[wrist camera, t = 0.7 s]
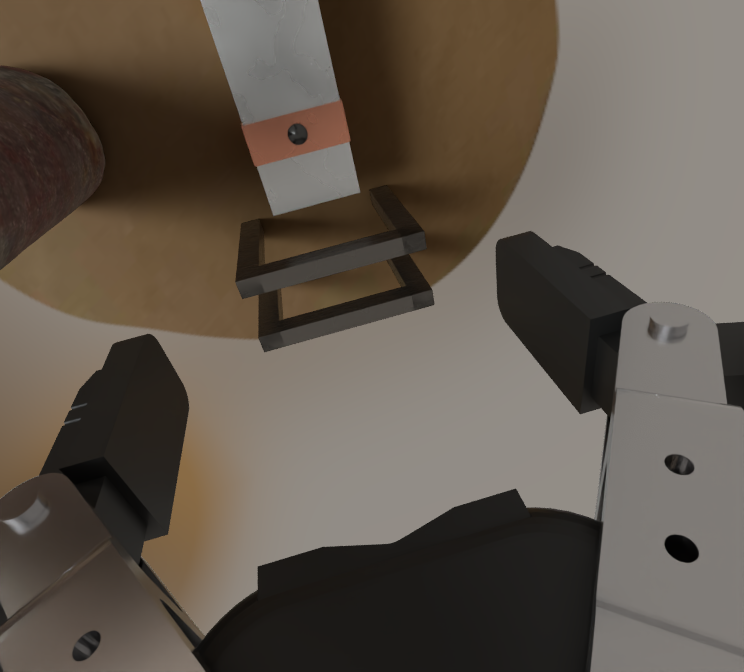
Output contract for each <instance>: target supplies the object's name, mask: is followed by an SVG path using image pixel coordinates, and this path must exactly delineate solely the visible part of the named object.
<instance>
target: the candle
mask: <svg viewBox="0 0 744 672" xmlns="http://www.w3.org/2000/svg"><path fill="white" fill-rule="evenodd" d="M104 168H105V156H104V153H103V146H102V144H101V141H100V139H99V137H98V135H97V133H96V131H95V130H94V128H93V127H92V125H91V123H90V122H89V120H88V118H87V117H86V115H85V114H84V112H83V111H82V109H81V108H80V107H79V106H78V105H77V104H76V103H75V102H74V101H73V100H72V99H71V97H70V96H69V95H68V94H67V93H66V92H65V91H64V90H63V89H62V88H61V87H59V86H58V85H56V84H55V83H53V82H52V81H50V80H49V79H47V78H44V77H42V76H39V75H37V74H35V73H33V72H30V71H26V70H23V69H20V68H14V67H8V66H0V270H1V269H2V268H3V267H5V266H6V265H7V264H8V263H10V262H11V261H12V260H13V259H14V258H16V257H17V256H18V255H19V254H20V253H21V252H22V251H23V250H24V249H26V248H27V247H28V246H29V245H31V244H32V243H34V242H35V241H36V240H38V239H39V238H40V237H41V236H42V235H44V234H45V233H46V232H47V231H49V230H50V229H51V228H53V227H54V226H55V225H56V224H58V223H59V222H60V221H62V220H63V219H64V218H65V217H67V216H68V215H69V214H70V213H72V212H73V211H74V210H75V209H76V208H78V207H79V206H80V205H81V204H82V203H83V202H84V201H86V200H87V199H88V198H89V197H90V196H91V195H92V194H93V193H94V192H95V191H96V189H97V188H98V186H99V185H100V183H101V181H102V179H103V172H104Z"/></svg>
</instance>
